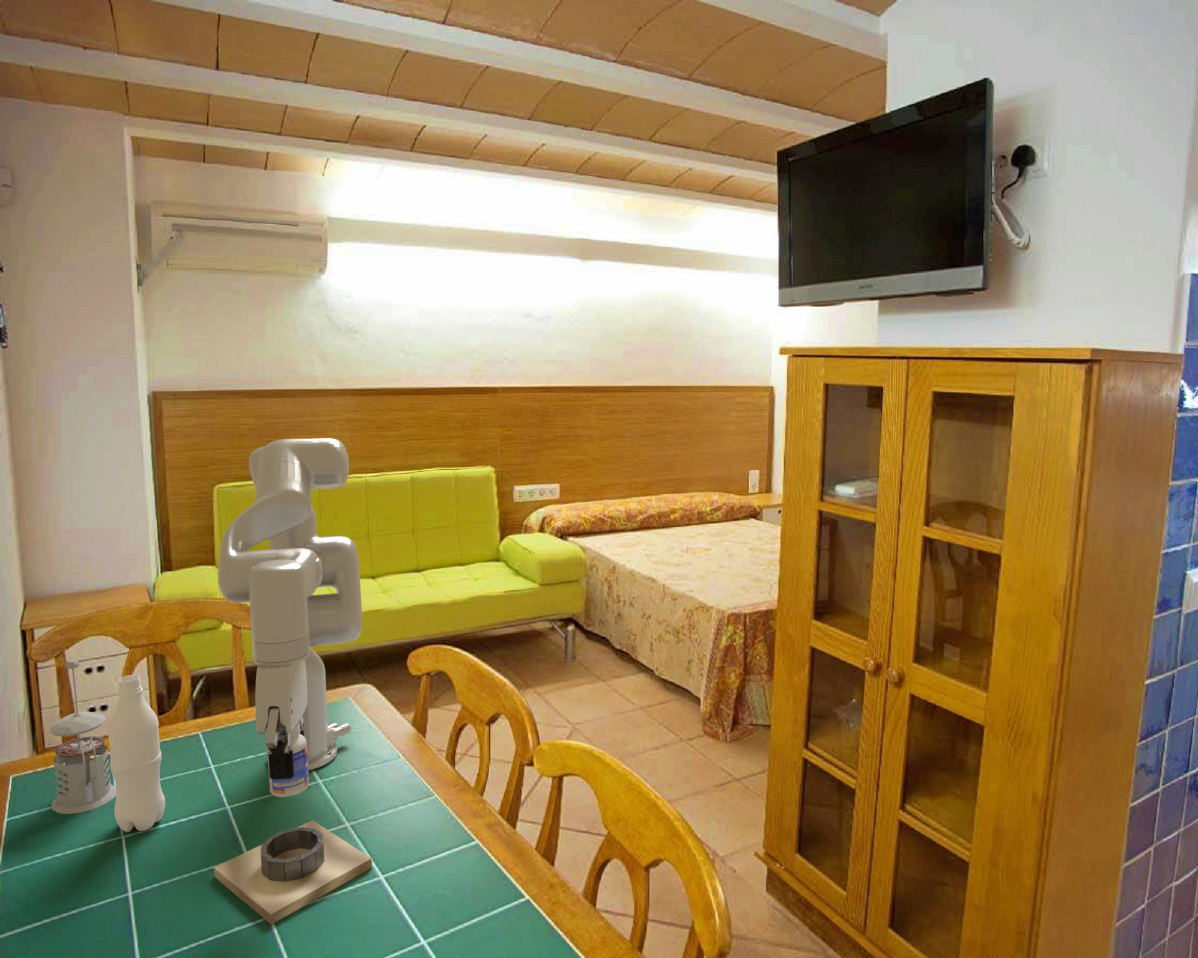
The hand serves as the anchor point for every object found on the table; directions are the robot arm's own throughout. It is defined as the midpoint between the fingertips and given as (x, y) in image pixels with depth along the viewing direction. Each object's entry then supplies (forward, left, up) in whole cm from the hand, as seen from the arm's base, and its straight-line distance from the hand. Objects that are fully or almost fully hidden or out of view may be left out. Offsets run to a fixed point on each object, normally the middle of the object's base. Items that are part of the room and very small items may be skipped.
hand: (288, 765), depth 117 cm
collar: (0, 0, -15) cm, 15 cm away
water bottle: (+9, -31, -17) cm, 37 cm away
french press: (+12, -46, -17) cm, 50 cm away
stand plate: (0, 0, -17) cm, 17 cm away
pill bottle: (0, 0, -4) cm, 4 cm away
